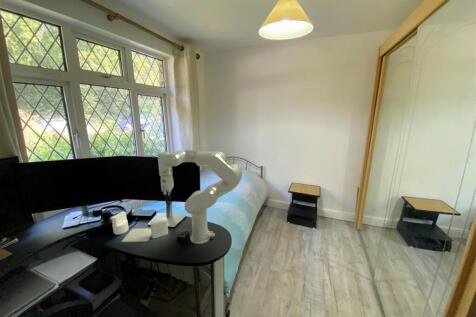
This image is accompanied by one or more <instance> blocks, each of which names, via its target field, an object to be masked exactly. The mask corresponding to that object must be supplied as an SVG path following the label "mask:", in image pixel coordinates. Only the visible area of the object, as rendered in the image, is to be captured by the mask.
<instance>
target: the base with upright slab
mask: <svg viewBox="0 0 476 317" xmlns="http://www.w3.org/2000/svg"><path fill="white" fill-rule="evenodd" d="M111 221H112V230H113V234H114V235H122V234H125V233H127V232H128V231H129V228H130V227H129V222H128V219H127V212H126V211H121V212H118V213H117V214H115V215H114V216H112V217H111Z"/></svg>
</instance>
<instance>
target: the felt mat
mask: <svg viewBox="0 0 476 317" xmlns="http://www.w3.org/2000/svg"><path fill="white" fill-rule="evenodd" d="M150 238H152V234H151V227H150V228H149V227H148V228H147V227H145V228H144V227H143V228H132V229H131V230H130V231H129V232H128V233H127V235H125V237H124V238H123V239H122V240H121V243H132V242H133V243H134V242H135V243H137V242H140V243H141V242H144V243H145V242H148V241H149V240H150Z"/></svg>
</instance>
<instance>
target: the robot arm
mask: <svg viewBox="0 0 476 317" xmlns="http://www.w3.org/2000/svg"><path fill="white" fill-rule="evenodd" d="M226 159H227V157H226V155H225V153H224V152H222V151H216V150H215V151H209V150H206V151H198V150H192V149H191V150H190V149H188V150H186V149H184V150H183V149H182V150H178V151H175V152H173V153H171V152H169V151H161V152H158V153H157V161H158V162H157V163H158V164H157V165H158V172H159V173H158V174H159V176H160V187H161V188H160V189H161V192H162V193H163V195H164V201H165V202H171V200H172V189H174V186H175V185H174V184H175V183H174V176H173V167H177V166H179V165H180V164H182V163H194V164H196V166H198V167H208V168H209V169H210V171H212V172H213V173H214V174H215V175H216V176H217V177H219V178H220V180H219V181H216V182H214V183H212V184H210V185H207V187H205V188H204V190H196V191H194V192H193V193H192V194H191V195H190V196H189V197H188V198H187V199H186V200H185V203H184V205H183V206H184V210H185V211H186V212H187V213H188V214H190V217H191V230H192V234H191V235H190V236H189V238H190V241H191V243H193V244H197V245H200V244H205V243H207V242H209V241H210V238H211V237H215V235H216V234H215V233H214V231H210V229H209V228H208V212H207V211H208V209H210V208H211V207H213V206H214V205H215V204H216V203H217V201H218V200H219V198H220V197H223V196H224V195H226V194H228V193H229V192H232V191H233V190H234V189H236V187H237V186H239V184H240V182H241V180H242V176H243V170H242V167H241V165H240V164H237V163H232V164H230V165H229V164H228V163H226Z"/></svg>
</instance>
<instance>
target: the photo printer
mask: <svg viewBox="0 0 476 317" xmlns="http://www.w3.org/2000/svg"><path fill="white" fill-rule="evenodd" d="M168 226H169V225H168V219H167V218H166V217H165V216H163V217H157V218H154V219H153V220H150V228H151V234H152V235H151V238H152V240H153V239H156V238H160V237H161V238H162V237H164V236H167V235H168V234H169V227H168Z"/></svg>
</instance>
